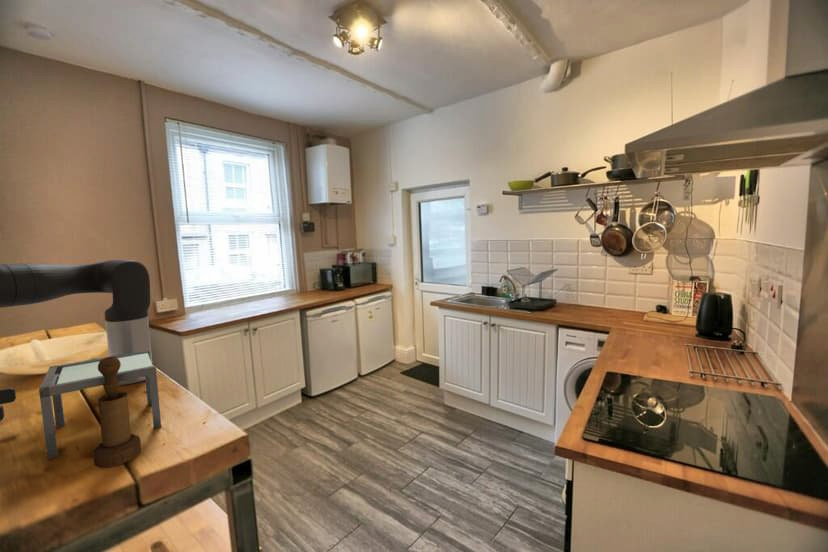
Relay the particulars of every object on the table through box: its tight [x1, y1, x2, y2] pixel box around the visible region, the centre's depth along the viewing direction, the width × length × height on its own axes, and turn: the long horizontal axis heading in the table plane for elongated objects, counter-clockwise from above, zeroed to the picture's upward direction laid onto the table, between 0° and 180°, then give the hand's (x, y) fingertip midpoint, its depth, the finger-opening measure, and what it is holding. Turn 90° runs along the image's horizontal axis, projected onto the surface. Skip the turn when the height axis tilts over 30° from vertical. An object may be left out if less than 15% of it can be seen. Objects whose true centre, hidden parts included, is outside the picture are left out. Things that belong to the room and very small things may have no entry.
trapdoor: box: [57, 353, 153, 384], centre depth 73 cm, size 12×14×1 cm
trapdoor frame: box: [38, 350, 162, 461], centre depth 73 cm, size 15×16×13 cm
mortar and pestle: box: [92, 356, 142, 469], centre depth 63 cm, size 7×6×18 cm
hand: (9, 402), depth 54 cm, fingers open, 8 cm apart
